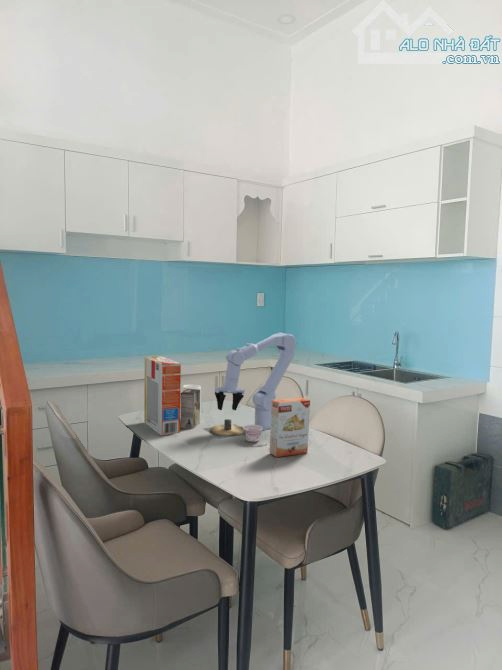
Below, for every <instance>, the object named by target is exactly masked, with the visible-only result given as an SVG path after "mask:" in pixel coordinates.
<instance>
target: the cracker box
mask: <svg viewBox="0 0 502 670" xmlns="http://www.w3.org/2000/svg"><path fill="white" fill-rule="evenodd" d="M310 407H311V400H310V399H308V398H305V397H291V398H278V399H276V398H275V400H272V406H271V429H269V430H270V431H269V432H270V433H269V436H270V437H269V454H270V455H272V456H274V457H275V458H281V457H288V456H294V455H295V456H296V455H303V454H308V450H309V449H308V447H309V431H310V429H309V428H310V427H309V426H310V412H311V411H310V410H311V408H310Z"/></svg>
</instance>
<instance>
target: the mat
mask: <svg viewBox="0 0 502 670" xmlns="http://www.w3.org/2000/svg"><path fill="white" fill-rule="evenodd" d="M233 425H237V424H233ZM237 426H239V425H237ZM202 429H203V430H204V431H206V432H208V433H209V434H211V435H213V436H215V437H216V438H218V439H227V438H231V437H232V438H233V437H235V436H220V435H215V434H213V433H211V432H210V429H211V427H204V428H202ZM240 436H246V433H243V434H241V435H237V436H236V437H240Z"/></svg>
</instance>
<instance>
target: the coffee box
mask: <svg viewBox="0 0 502 670" xmlns="http://www.w3.org/2000/svg"><path fill="white" fill-rule="evenodd" d="M200 421H201V412H200V390H195V389H187V390H185V391H183V390H182V392H180V429H182V428H183V429H192V430H193V429H195V428H196V427H197V426H199V425H200V424H201V422H200Z"/></svg>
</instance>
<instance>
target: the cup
mask: <svg viewBox="0 0 502 670" xmlns="http://www.w3.org/2000/svg"><path fill="white" fill-rule="evenodd" d="M187 389H195V390H200V413H201V412H202V411H201V409H202V407H201V405H202V404H201V402H202V401H201V399H202V398H201V397H202V386H201V385H199V384H184V385H183V387H182V392H183V391H185V390H187Z"/></svg>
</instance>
